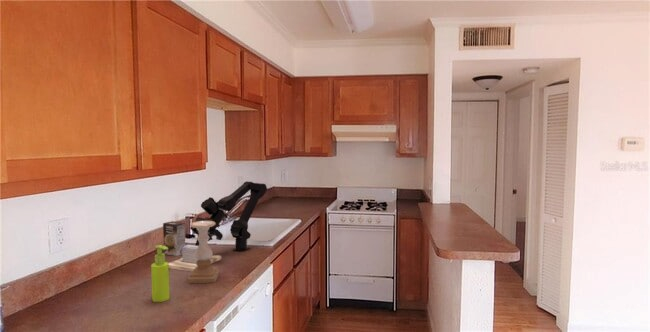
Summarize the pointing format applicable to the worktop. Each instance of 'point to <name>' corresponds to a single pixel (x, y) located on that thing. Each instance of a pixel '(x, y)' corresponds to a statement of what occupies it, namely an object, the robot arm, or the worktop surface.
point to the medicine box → (189, 254)
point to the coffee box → (174, 237)
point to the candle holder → (203, 255)
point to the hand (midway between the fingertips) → (196, 246)
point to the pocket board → (189, 264)
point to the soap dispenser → (160, 276)
